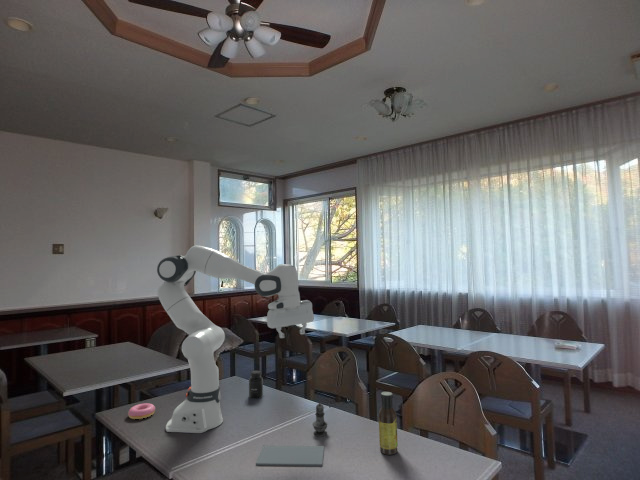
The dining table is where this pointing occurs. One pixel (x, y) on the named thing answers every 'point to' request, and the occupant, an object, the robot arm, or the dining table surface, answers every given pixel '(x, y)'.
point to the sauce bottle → (387, 425)
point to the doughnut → (141, 411)
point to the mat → (291, 455)
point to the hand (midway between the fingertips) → (292, 335)
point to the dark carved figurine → (320, 421)
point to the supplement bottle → (255, 385)
